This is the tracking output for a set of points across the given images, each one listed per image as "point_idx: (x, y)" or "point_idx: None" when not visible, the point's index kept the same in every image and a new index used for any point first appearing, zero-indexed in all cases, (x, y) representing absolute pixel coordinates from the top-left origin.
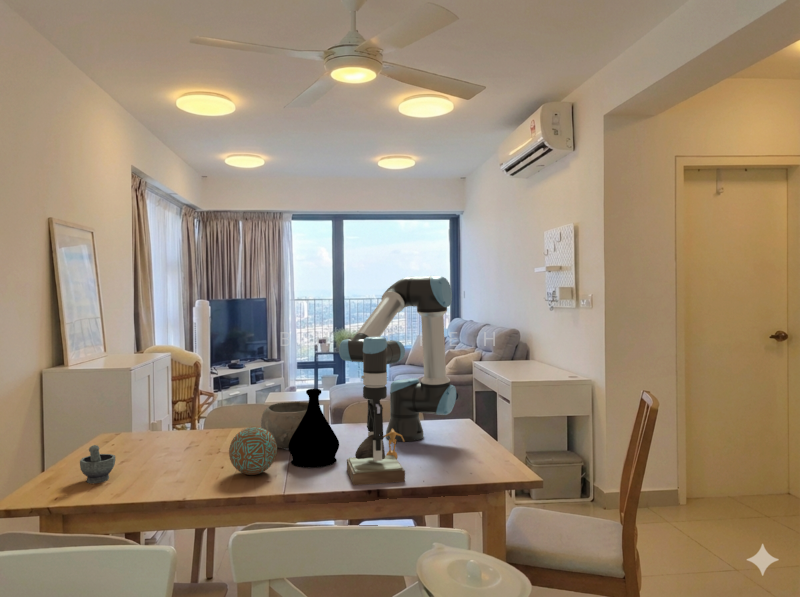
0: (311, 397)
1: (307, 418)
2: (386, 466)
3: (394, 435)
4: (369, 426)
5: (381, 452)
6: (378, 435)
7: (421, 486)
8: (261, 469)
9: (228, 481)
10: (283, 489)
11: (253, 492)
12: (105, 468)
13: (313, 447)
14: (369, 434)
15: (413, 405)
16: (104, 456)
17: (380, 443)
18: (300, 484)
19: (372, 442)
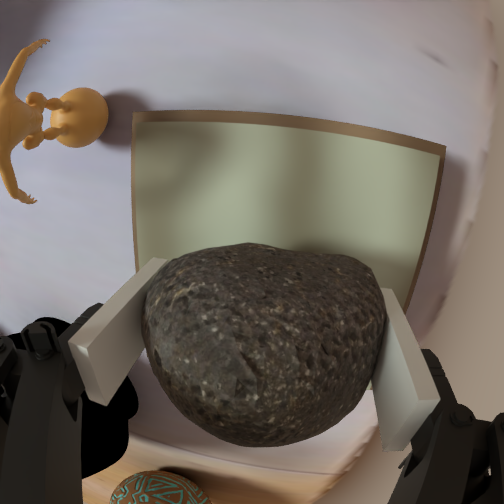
0: None
1: None
2: (373, 237)
3: (22, 109)
4: (79, 441)
5: (404, 324)
6: (488, 467)
7: (492, 107)
8: (205, 494)
9: (217, 500)
10: (305, 473)
11: (297, 496)
12: None
13: (116, 450)
14: (112, 386)
15: None
16: None
17: (451, 392)
18: (283, 453)
19: (334, 418)
